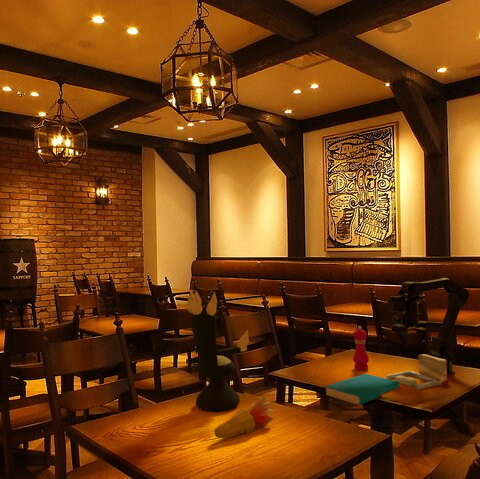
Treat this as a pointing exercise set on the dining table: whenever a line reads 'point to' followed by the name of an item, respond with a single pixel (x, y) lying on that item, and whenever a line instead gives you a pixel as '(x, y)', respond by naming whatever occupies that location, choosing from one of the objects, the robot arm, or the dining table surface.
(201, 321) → the candelabra
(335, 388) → the book
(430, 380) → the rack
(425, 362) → the sheet
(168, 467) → the dining table surface
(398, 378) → the offcut top
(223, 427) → the torch
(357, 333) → the pepper mill
